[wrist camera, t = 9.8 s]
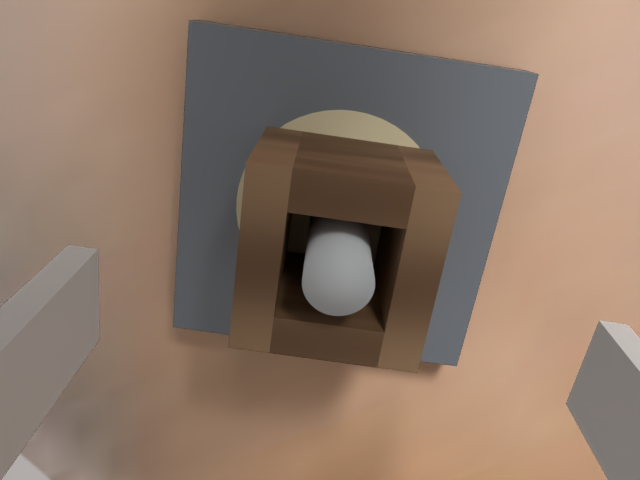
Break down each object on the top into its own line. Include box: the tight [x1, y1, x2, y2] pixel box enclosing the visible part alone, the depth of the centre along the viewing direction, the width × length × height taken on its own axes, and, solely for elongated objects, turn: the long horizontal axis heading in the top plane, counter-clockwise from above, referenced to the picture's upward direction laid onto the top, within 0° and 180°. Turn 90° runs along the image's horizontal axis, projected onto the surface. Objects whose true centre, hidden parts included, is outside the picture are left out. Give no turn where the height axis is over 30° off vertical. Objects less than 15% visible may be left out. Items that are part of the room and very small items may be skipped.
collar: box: [229, 126, 462, 373], centre depth 22 cm, size 7×7×6 cm
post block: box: [173, 20, 539, 366], centre depth 22 cm, size 14×14×8 cm
